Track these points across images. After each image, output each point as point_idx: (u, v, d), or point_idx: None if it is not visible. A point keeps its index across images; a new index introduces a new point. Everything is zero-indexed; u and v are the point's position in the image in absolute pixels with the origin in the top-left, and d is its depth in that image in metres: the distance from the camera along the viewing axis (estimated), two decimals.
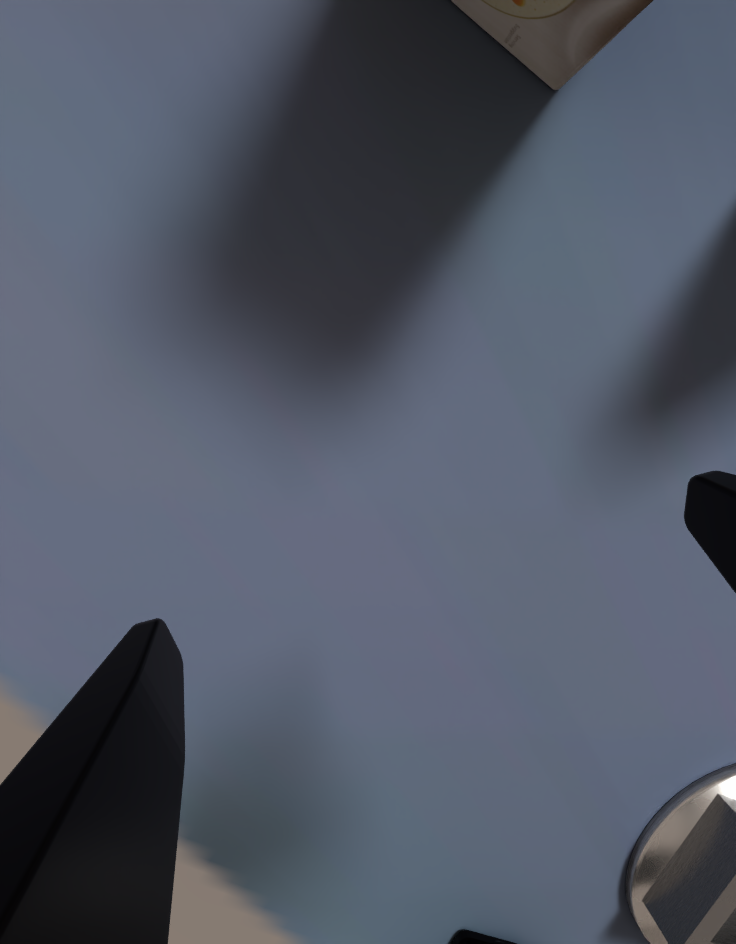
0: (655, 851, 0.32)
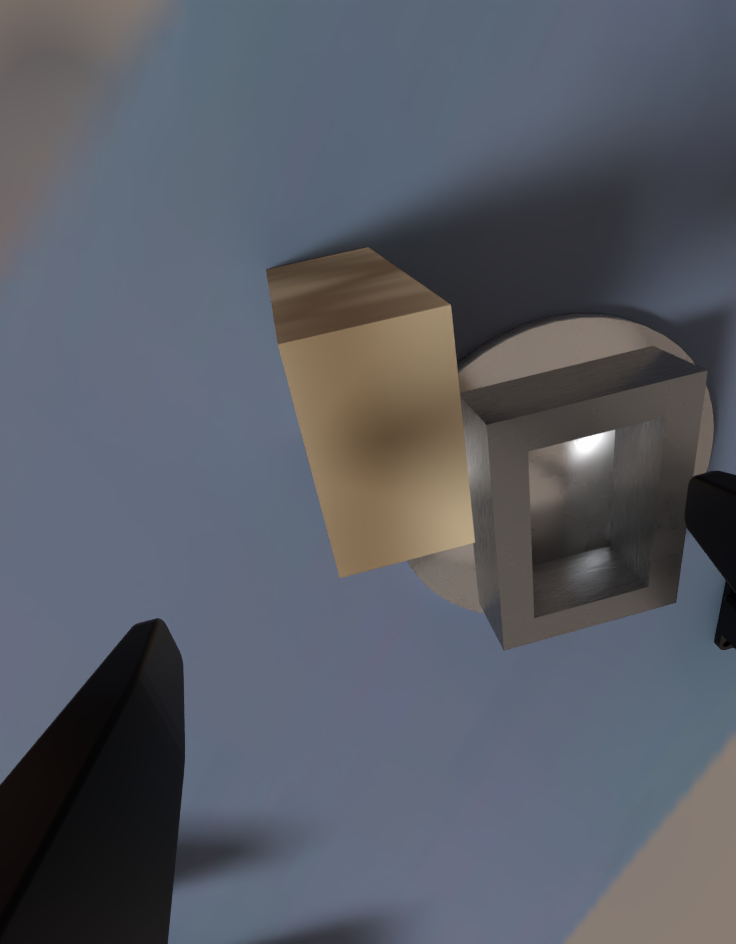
0: None
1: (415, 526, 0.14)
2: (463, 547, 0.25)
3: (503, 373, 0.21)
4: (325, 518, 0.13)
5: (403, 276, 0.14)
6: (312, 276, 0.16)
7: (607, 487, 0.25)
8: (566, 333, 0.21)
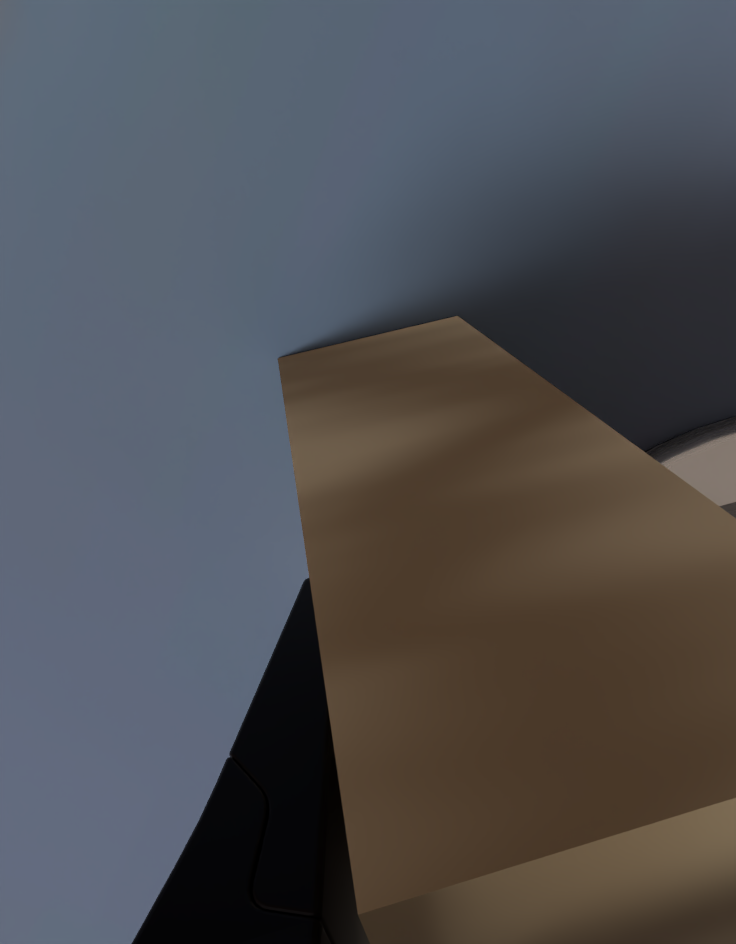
0: None
1: None
2: None
3: None
4: None
5: (614, 441, 0.06)
6: (374, 398, 0.08)
7: None
8: None
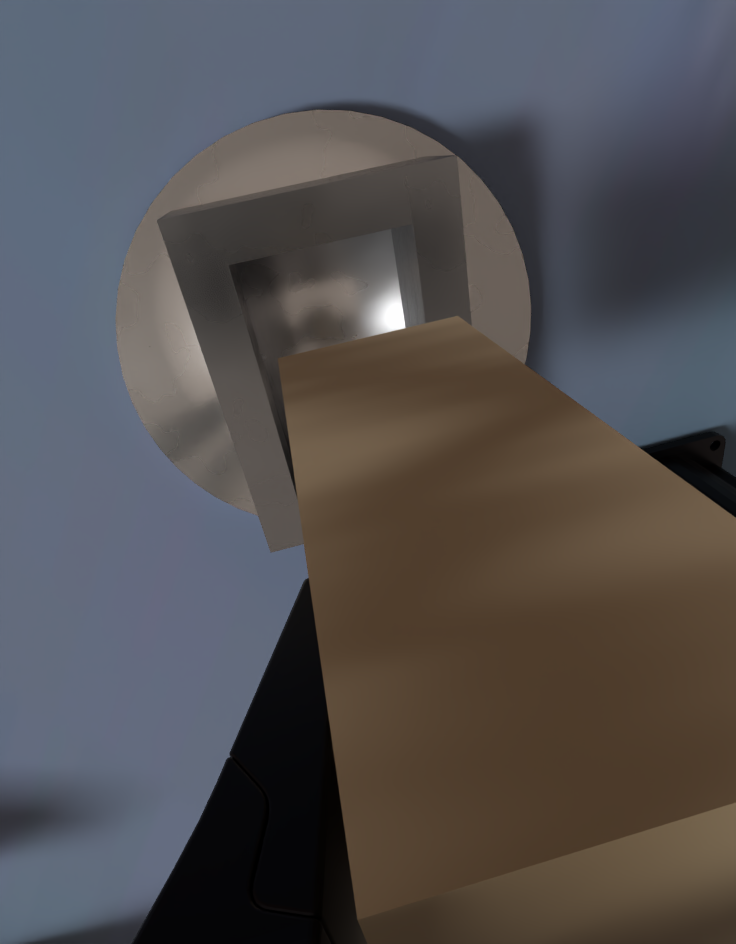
0: None
1: None
2: None
3: (227, 185, 0.17)
4: None
5: (615, 442, 0.06)
6: (374, 399, 0.08)
7: None
8: (302, 130, 0.16)
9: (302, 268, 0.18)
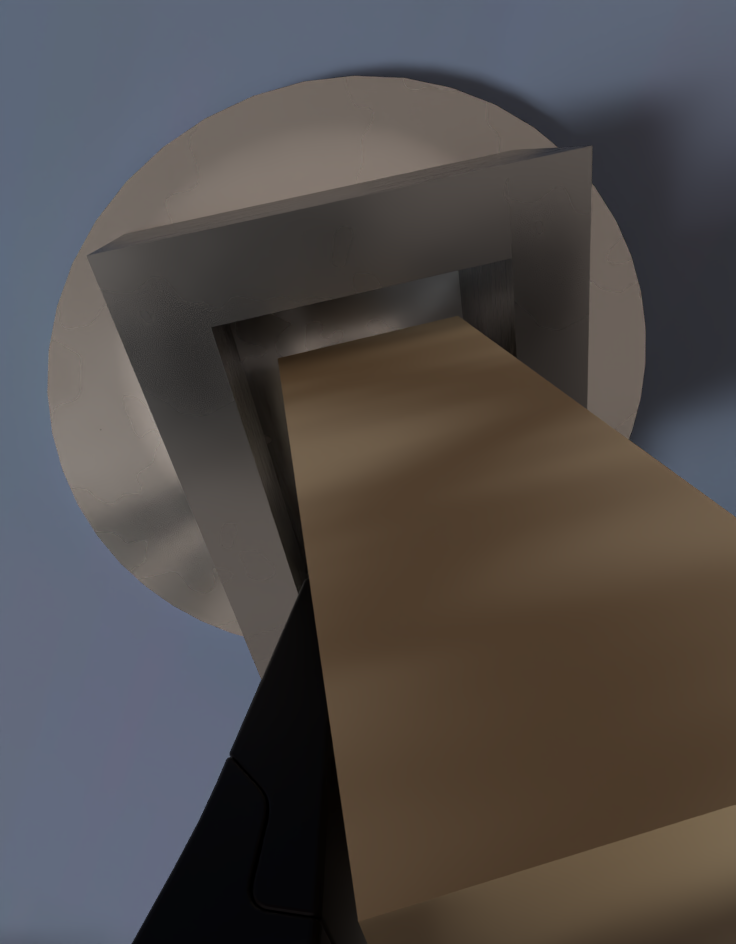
0: None
1: None
2: None
3: (213, 194, 0.11)
4: None
5: (615, 442, 0.06)
6: (375, 399, 0.08)
7: None
8: (329, 109, 0.10)
9: (325, 316, 0.12)
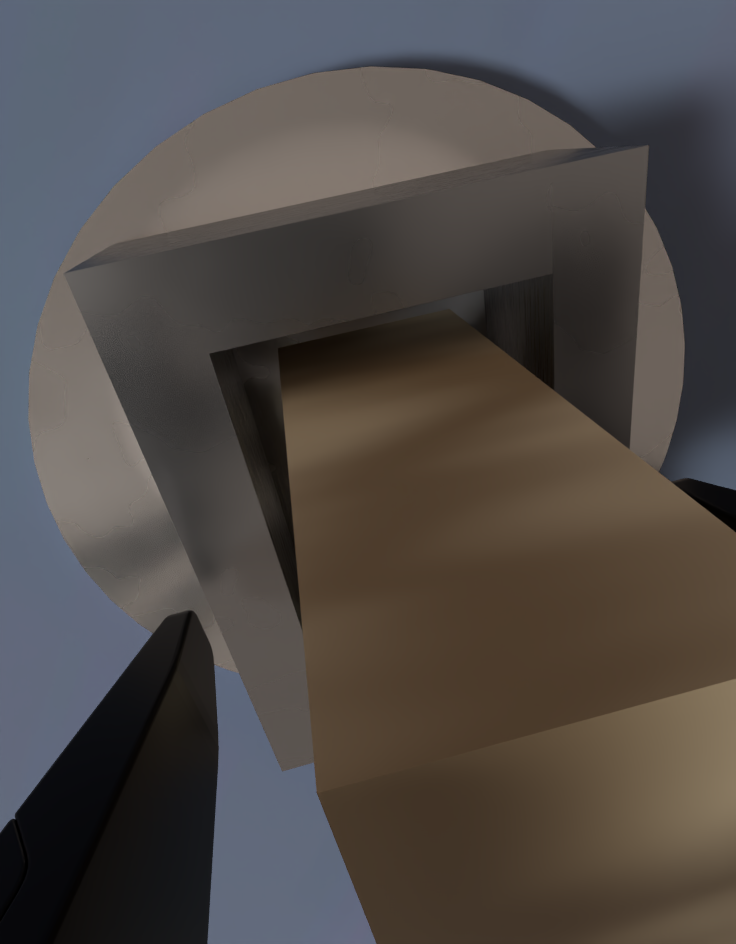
0: None
1: None
2: None
3: (212, 200, 0.10)
4: None
5: (579, 421, 0.06)
6: (365, 384, 0.09)
7: None
8: (343, 104, 0.09)
9: (336, 333, 0.11)
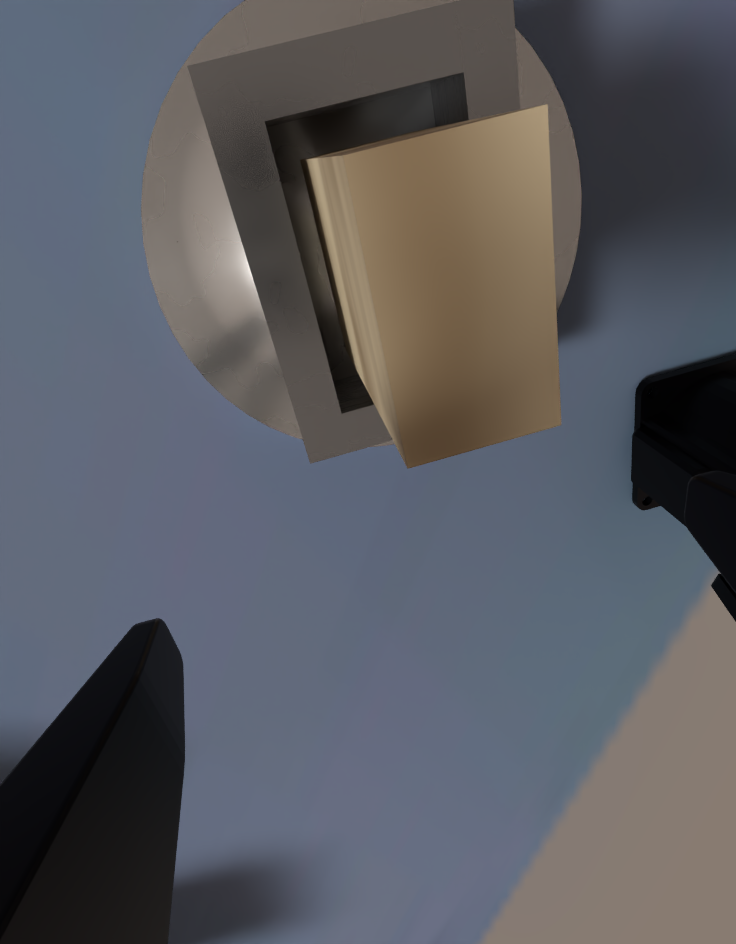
0: None
1: (495, 403, 0.12)
2: (262, 339, 0.19)
3: None
4: (393, 391, 0.11)
5: (469, 120, 0.12)
6: (357, 146, 0.14)
7: None
8: None
9: None
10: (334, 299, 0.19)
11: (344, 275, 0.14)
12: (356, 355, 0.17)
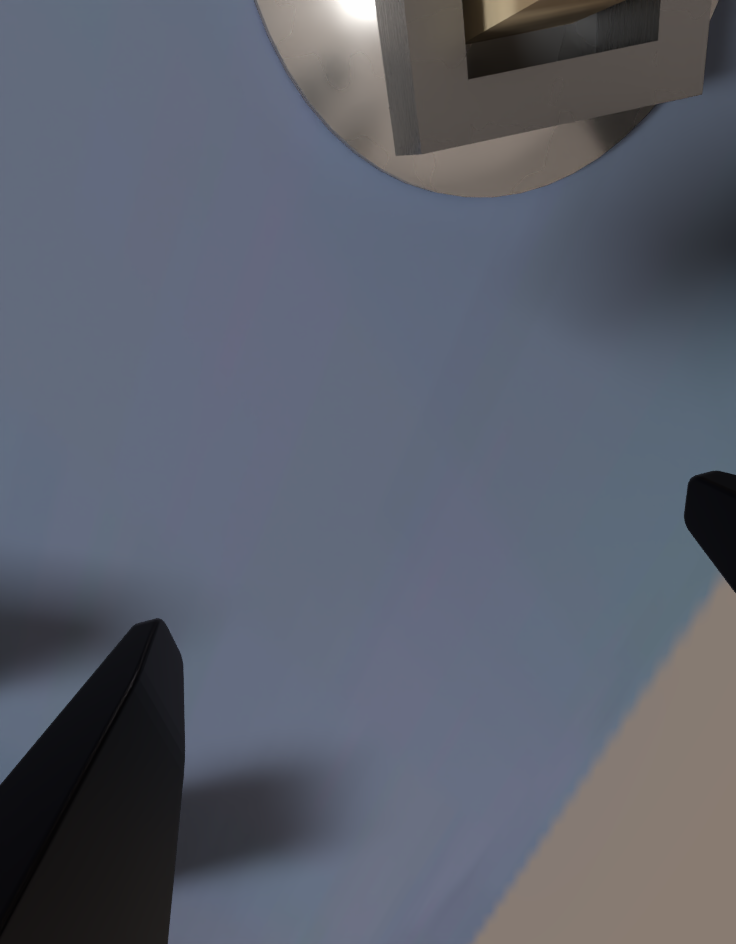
0: (540, 169, 0.18)
1: None
2: (360, 15, 0.15)
3: None
4: None
5: None
6: None
7: None
8: None
9: None
10: None
11: None
12: None
